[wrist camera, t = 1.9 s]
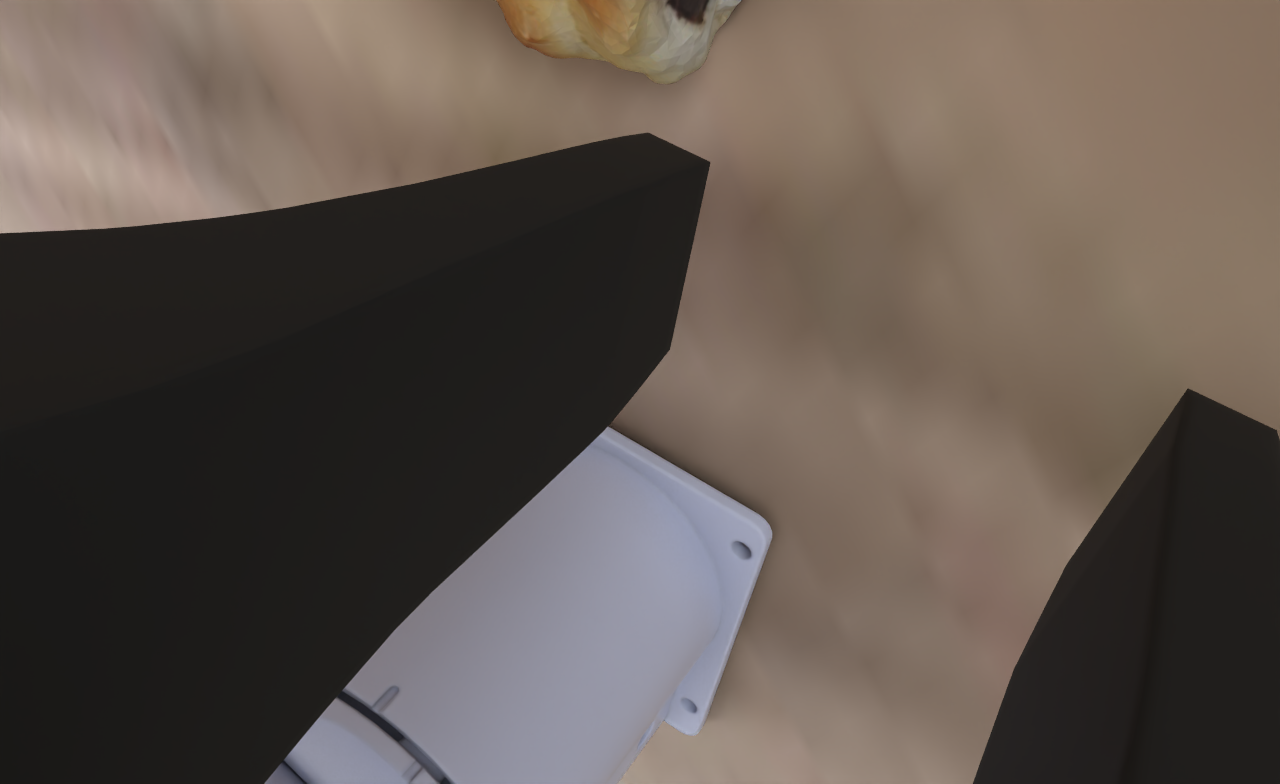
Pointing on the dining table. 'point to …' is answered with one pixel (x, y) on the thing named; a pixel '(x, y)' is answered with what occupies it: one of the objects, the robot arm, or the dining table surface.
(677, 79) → the pastry
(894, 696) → the dining table surface
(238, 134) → the dining table surface
